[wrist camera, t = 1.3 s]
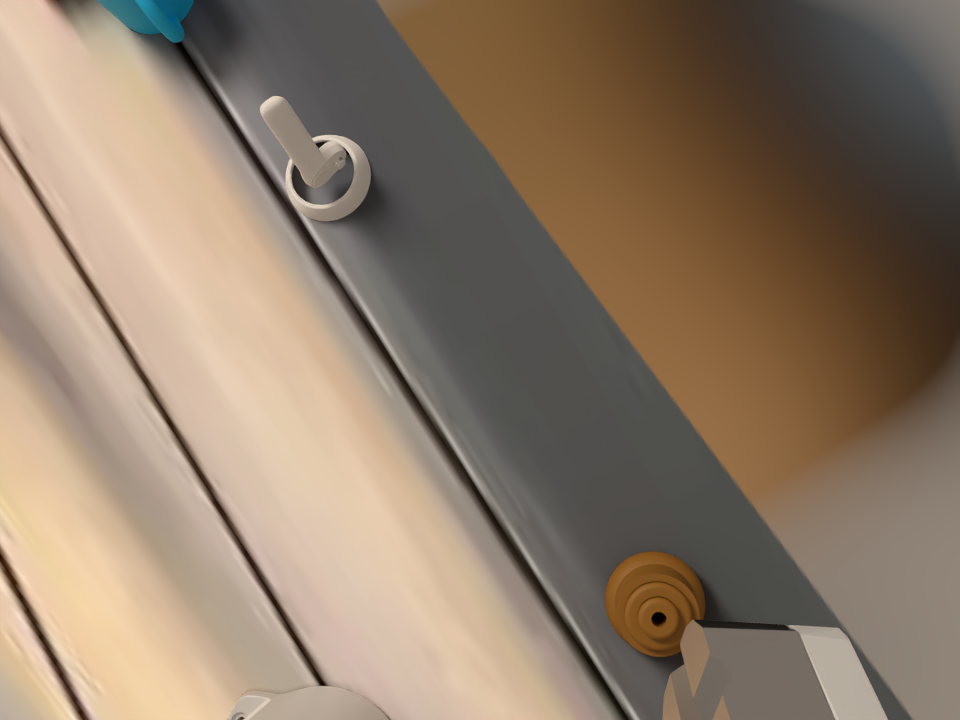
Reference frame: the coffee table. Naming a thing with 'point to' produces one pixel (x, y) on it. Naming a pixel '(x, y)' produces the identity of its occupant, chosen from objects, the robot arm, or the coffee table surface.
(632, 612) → the ornamental finial
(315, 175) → the vr controller
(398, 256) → the coffee table surface
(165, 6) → the mug
